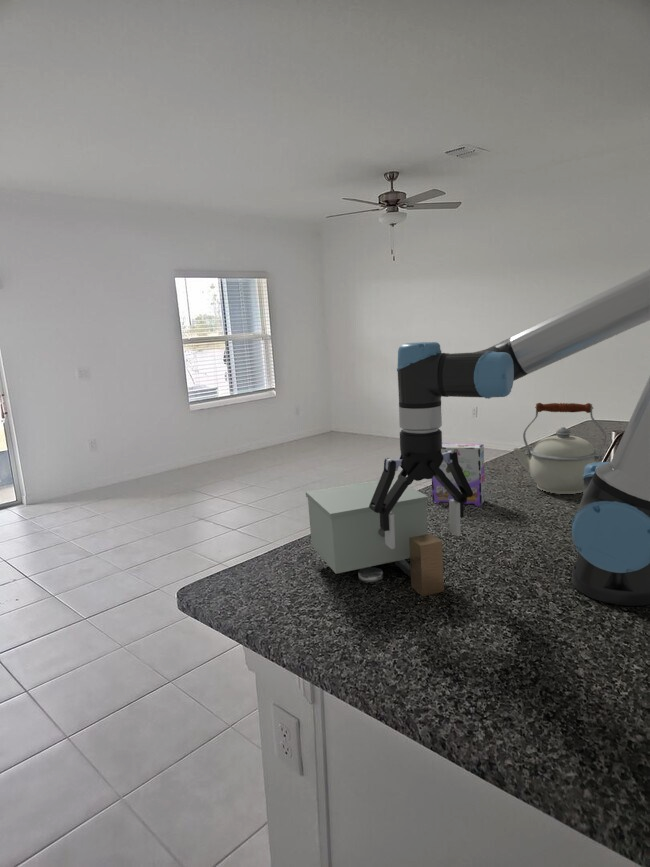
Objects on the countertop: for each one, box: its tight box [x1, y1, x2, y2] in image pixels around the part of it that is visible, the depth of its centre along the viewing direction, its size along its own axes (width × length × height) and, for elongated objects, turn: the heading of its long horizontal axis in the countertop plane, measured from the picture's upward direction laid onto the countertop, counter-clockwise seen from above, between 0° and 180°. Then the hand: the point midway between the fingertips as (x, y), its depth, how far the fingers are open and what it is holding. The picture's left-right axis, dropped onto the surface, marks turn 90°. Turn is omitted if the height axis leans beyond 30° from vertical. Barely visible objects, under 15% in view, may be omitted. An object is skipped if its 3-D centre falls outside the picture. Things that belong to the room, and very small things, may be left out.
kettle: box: [512, 402, 607, 495], centre depth 159 cm, size 25×18×25 cm
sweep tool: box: [394, 533, 445, 597], centre depth 110 cm, size 15×4×10 cm, turn 18°
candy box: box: [431, 442, 486, 507], centre depth 154 cm, size 14×6×16 cm, turn 63°
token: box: [357, 566, 384, 583], centre depth 113 cm, size 5×5×1 cm
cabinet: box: [305, 478, 429, 575], centre depth 115 cm, size 18×21×16 cm
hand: (423, 540), depth 104 cm, fingers open, 13 cm apart
